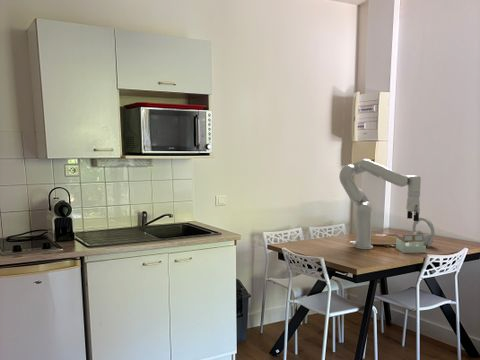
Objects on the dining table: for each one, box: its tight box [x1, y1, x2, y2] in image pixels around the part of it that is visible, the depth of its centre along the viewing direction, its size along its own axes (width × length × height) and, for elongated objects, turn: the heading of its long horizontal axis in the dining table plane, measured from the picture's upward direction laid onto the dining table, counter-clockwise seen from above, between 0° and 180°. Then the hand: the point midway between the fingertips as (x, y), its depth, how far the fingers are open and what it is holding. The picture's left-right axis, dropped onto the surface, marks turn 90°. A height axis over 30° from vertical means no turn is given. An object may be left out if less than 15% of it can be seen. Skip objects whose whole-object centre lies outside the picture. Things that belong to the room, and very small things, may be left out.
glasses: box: [396, 233, 424, 243], centre depth 262 cm, size 13×13×4 cm
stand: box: [395, 238, 427, 254], centre depth 261 cm, size 12×15×7 cm
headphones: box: [411, 216, 435, 248], centre depth 275 cm, size 19×8×20 cm, turn 17°
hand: (412, 219), depth 256 cm, fingers open, 9 cm apart
